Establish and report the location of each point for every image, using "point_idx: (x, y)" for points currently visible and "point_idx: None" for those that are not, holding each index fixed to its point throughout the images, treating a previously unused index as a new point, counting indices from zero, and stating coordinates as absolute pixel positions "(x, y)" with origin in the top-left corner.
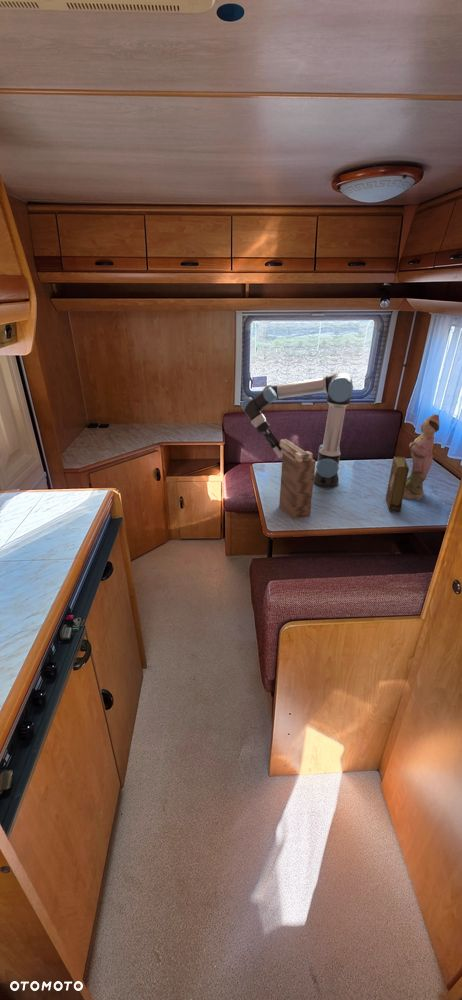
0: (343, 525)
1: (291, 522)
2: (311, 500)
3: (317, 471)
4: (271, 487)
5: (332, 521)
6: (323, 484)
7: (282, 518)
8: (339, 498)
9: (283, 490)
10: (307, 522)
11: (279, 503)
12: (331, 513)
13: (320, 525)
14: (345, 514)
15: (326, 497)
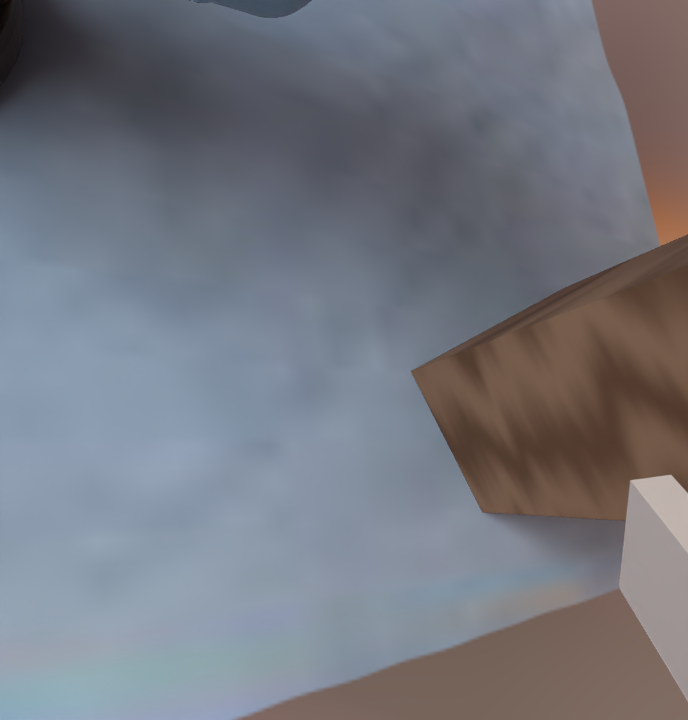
0: (615, 116)
1: None
2: (668, 243)
3: (290, 12)
4: (75, 642)
5: (592, 163)
6: (11, 42)
7: None
8: None
9: None
10: None
11: (499, 512)
12: (504, 141)
13: (646, 243)
14: (498, 59)
15: (261, 102)
